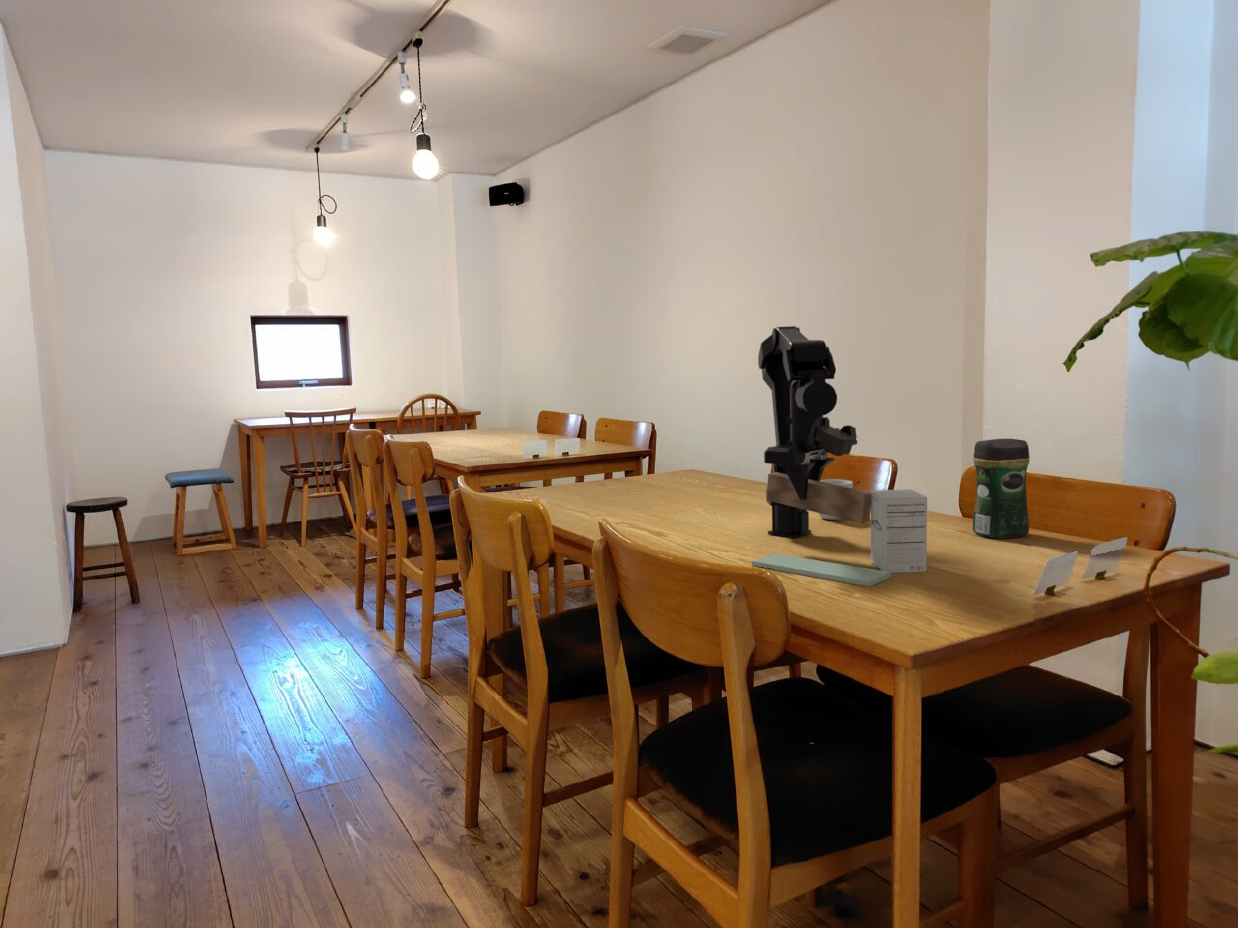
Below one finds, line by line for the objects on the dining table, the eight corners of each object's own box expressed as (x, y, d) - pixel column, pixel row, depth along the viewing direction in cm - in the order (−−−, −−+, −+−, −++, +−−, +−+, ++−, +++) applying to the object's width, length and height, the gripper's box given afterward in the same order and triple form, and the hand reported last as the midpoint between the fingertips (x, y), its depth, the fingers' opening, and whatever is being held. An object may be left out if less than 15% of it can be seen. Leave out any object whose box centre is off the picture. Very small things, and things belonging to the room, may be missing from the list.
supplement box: (869, 562, 144) (869, 489, 142) (913, 561, 143) (913, 488, 142) (881, 573, 136) (882, 497, 135) (927, 572, 136) (928, 495, 134)
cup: (860, 523, 176) (860, 486, 175) (822, 525, 176) (822, 487, 175) (847, 514, 186) (847, 478, 185) (811, 515, 187) (811, 479, 186)
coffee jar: (1009, 528, 166) (1011, 435, 163) (1035, 537, 158) (1038, 439, 156) (964, 532, 164) (966, 438, 162) (989, 540, 156) (991, 442, 154)
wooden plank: (766, 500, 156) (768, 474, 155) (774, 498, 158) (776, 472, 157) (861, 523, 142) (864, 495, 141) (869, 521, 143) (872, 492, 142)
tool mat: (751, 565, 144) (751, 561, 144) (774, 557, 149) (774, 553, 149) (869, 586, 129) (869, 581, 129) (890, 577, 134) (890, 572, 134)
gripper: (818, 417, 136) (819, 511, 138) (874, 409, 150) (873, 495, 152) (761, 415, 144) (763, 504, 146) (819, 408, 157) (819, 490, 159)
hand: (807, 498), depth 151 cm, fingers closed on wooden plank, 3 cm apart
